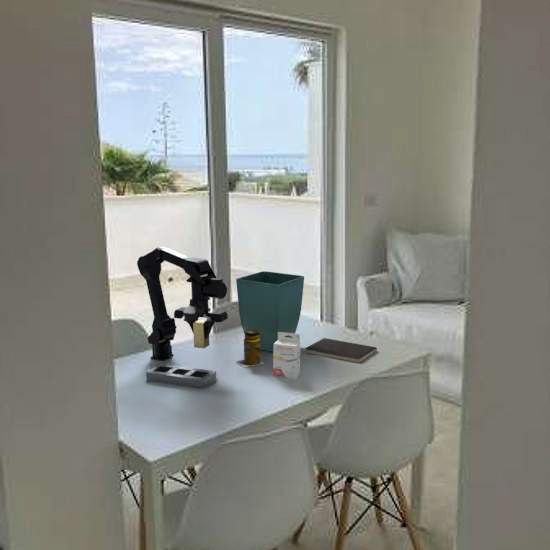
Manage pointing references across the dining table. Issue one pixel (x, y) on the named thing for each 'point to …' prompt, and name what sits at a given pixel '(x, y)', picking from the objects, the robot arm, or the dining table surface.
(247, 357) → the condiment
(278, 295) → the flower pot
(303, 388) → the dining table surface
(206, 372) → the gray socket block
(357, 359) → the hardcover book
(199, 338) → the brass peg
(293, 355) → the ink cartridge box
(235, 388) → the dining table surface
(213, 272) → the robot arm
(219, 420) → the dining table surface
